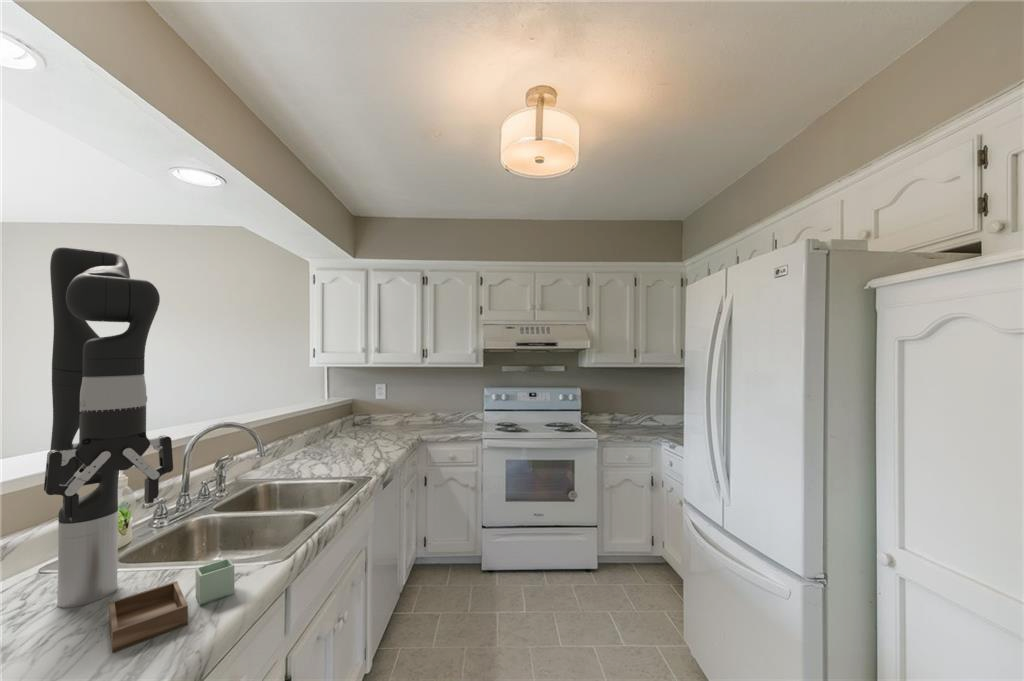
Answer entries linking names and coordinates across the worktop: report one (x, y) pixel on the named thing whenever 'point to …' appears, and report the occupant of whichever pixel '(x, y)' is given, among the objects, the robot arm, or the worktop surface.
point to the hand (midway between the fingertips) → (113, 510)
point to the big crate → (146, 615)
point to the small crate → (214, 581)
